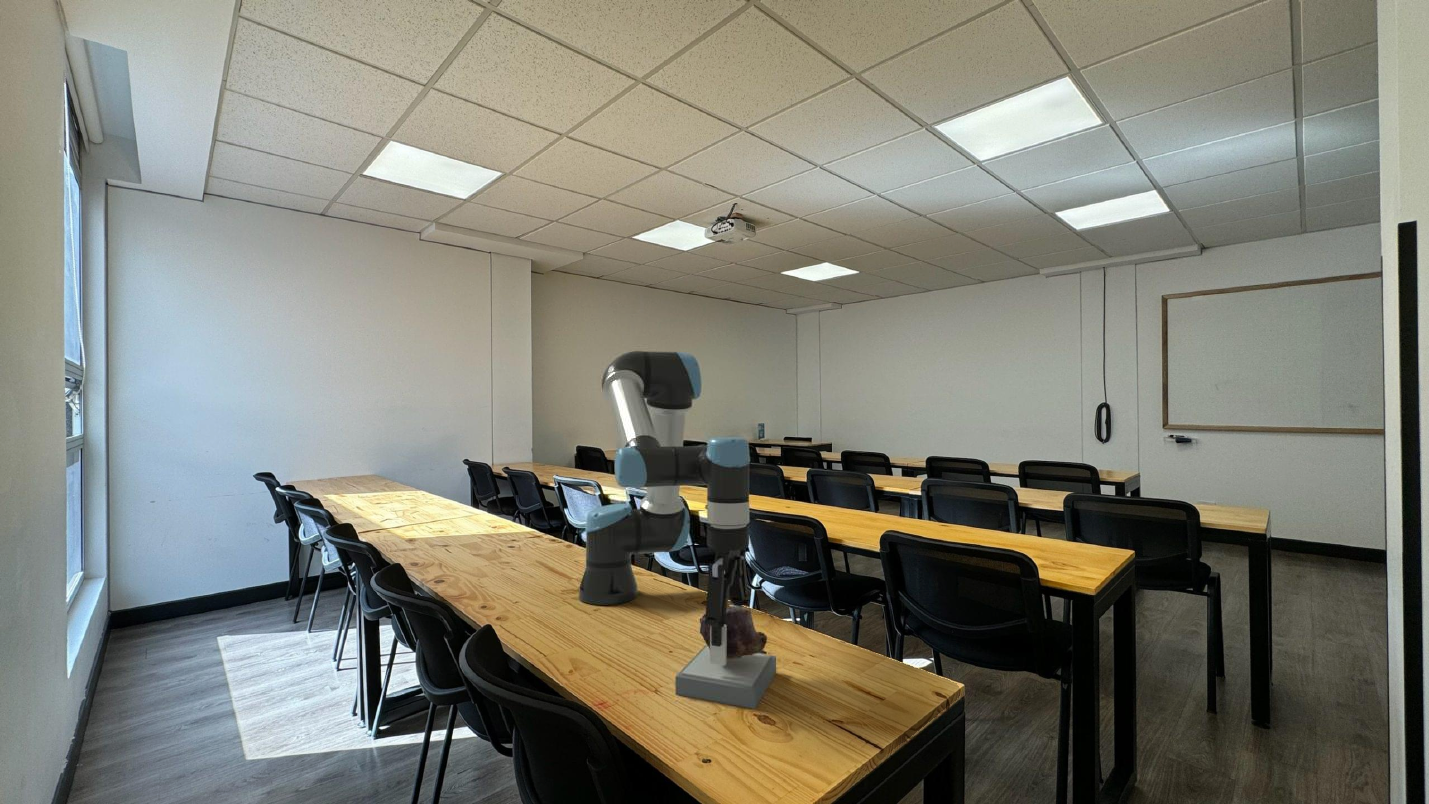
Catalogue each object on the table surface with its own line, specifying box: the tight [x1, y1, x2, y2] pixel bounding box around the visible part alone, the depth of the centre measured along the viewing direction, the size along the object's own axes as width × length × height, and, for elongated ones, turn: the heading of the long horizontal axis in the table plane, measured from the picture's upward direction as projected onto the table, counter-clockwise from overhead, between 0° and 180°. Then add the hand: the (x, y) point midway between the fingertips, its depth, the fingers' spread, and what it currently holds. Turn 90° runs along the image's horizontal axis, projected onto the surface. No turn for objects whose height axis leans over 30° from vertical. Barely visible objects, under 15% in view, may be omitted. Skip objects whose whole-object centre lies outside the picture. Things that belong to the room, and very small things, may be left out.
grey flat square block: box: [674, 644, 777, 710], centre depth 102 cm, size 14×14×3 cm
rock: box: [699, 607, 768, 659], centre depth 102 cm, size 12×9×10 cm
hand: (727, 651), depth 102 cm, fingers closed on rock, 9 cm apart
